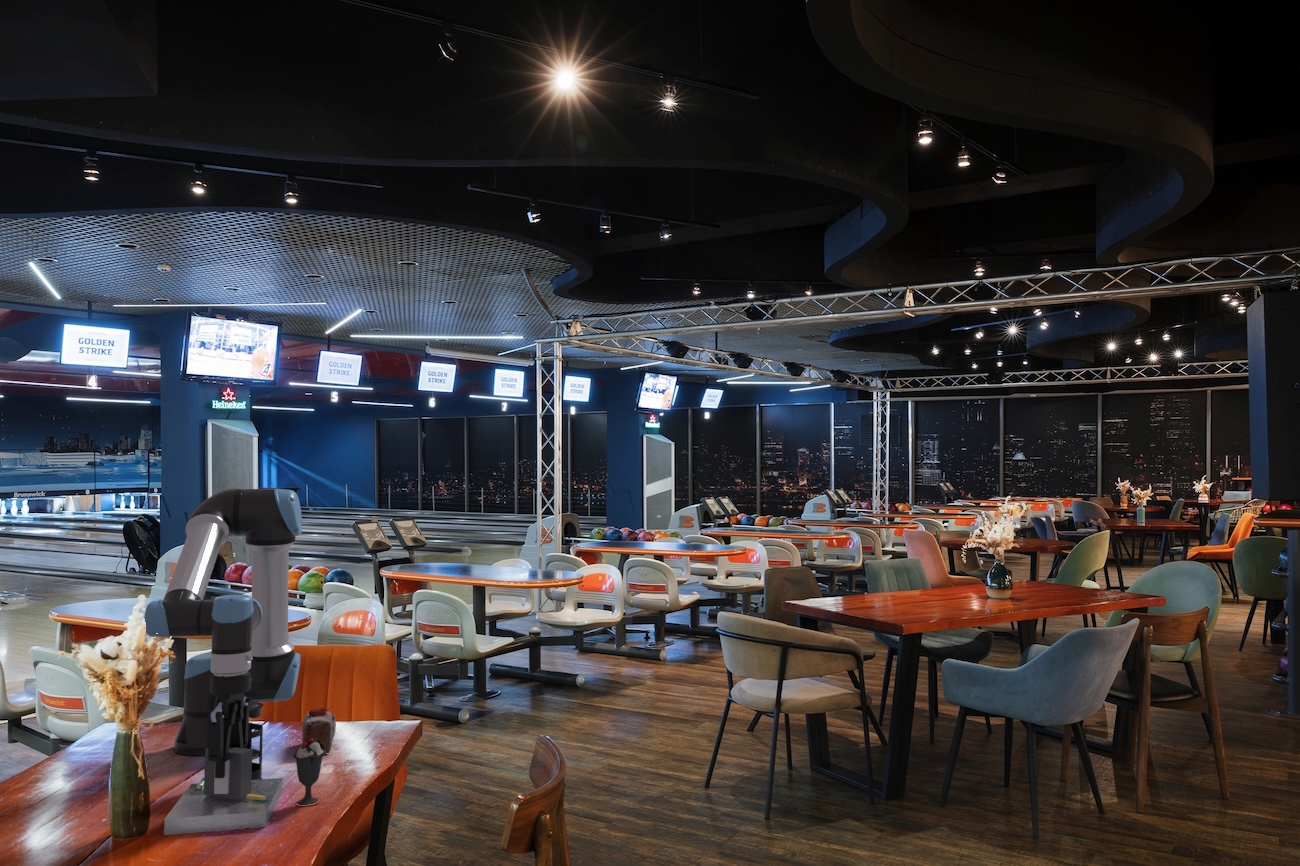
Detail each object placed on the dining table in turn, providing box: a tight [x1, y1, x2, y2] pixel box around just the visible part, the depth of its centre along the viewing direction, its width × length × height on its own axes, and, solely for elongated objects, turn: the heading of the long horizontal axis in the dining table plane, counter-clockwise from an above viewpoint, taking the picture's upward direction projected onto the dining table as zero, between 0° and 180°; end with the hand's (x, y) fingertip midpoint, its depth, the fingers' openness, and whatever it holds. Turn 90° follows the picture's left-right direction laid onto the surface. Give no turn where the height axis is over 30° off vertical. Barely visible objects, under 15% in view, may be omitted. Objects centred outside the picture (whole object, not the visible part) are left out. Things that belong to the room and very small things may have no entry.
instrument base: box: [163, 777, 284, 836], centre depth 184 cm, size 20×18×5 cm
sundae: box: [291, 732, 326, 805], centre depth 190 cm, size 7×7×15 cm
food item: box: [301, 707, 337, 754], centre depth 228 cm, size 14×8×10 cm, turn 20°
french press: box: [244, 678, 264, 780], centre depth 202 cm, size 12×9×23 cm
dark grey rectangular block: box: [203, 747, 266, 800], centre depth 184 cm, size 14×3×9 cm, turn 73°
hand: (227, 789), depth 184 cm, fingers closed on dark grey rectangular block, 4 cm apart
